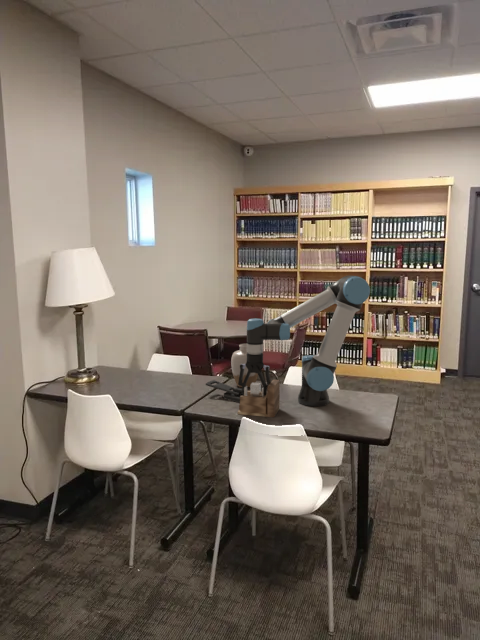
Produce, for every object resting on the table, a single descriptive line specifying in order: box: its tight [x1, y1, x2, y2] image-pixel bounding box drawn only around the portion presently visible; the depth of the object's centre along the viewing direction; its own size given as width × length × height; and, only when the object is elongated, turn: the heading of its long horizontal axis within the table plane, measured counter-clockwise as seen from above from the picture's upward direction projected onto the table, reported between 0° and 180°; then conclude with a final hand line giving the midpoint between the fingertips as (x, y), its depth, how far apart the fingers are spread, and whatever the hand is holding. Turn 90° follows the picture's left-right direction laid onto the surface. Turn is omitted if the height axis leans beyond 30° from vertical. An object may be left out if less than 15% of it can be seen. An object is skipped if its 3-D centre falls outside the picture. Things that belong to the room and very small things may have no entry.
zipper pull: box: [205, 379, 250, 403], centre depth 241 cm, size 9×7×25 cm
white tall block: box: [249, 382, 262, 397], centre depth 219 cm, size 4×4×12 cm
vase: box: [230, 343, 259, 389], centre depth 261 cm, size 16×16×23 cm
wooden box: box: [237, 379, 281, 418], centre depth 218 cm, size 17×12×14 cm
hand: (254, 401), depth 219 cm, fingers open, 8 cm apart
